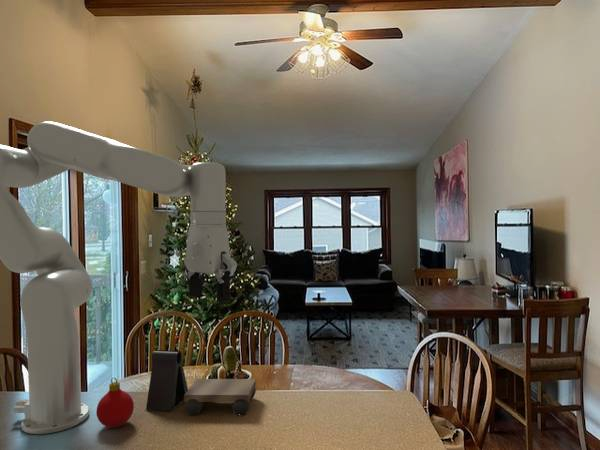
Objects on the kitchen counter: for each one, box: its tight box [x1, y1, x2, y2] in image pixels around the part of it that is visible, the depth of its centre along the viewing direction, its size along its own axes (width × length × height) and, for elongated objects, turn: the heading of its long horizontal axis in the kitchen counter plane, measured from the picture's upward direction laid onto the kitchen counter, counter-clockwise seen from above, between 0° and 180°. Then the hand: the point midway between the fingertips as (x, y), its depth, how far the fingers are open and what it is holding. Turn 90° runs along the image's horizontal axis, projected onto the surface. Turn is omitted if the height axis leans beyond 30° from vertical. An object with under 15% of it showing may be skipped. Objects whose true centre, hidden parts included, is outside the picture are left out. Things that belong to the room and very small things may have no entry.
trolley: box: [183, 378, 257, 416], centre depth 98 cm, size 14×9×4 cm, turn 87°
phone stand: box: [145, 349, 189, 412], centre depth 100 cm, size 9×6×12 cm, turn 168°
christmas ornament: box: [96, 377, 135, 428], centre depth 90 cm, size 7×7×10 cm
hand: (209, 298), depth 95 cm, fingers open, 9 cm apart
